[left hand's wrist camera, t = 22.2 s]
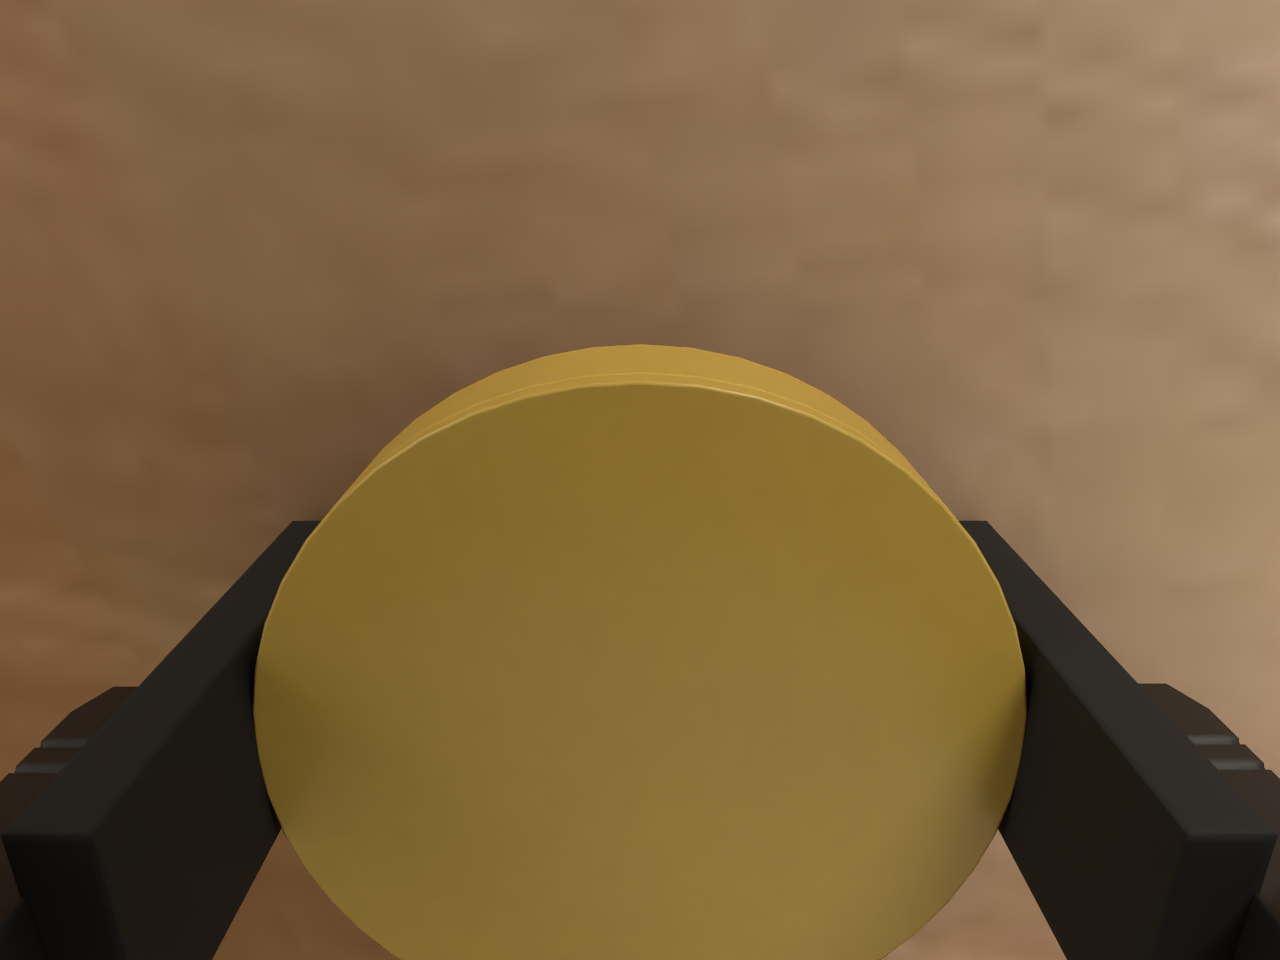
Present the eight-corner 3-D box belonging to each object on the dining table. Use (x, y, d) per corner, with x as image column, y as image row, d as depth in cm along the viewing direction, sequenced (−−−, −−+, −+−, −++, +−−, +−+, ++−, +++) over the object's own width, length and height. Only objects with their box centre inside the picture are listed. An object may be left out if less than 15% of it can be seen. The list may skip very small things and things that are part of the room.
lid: (391, 947, 14) (356, 1059, 12) (223, 393, 11) (144, 438, 9) (971, 891, 13) (1020, 999, 12) (974, 297, 10) (1040, 328, 9)
